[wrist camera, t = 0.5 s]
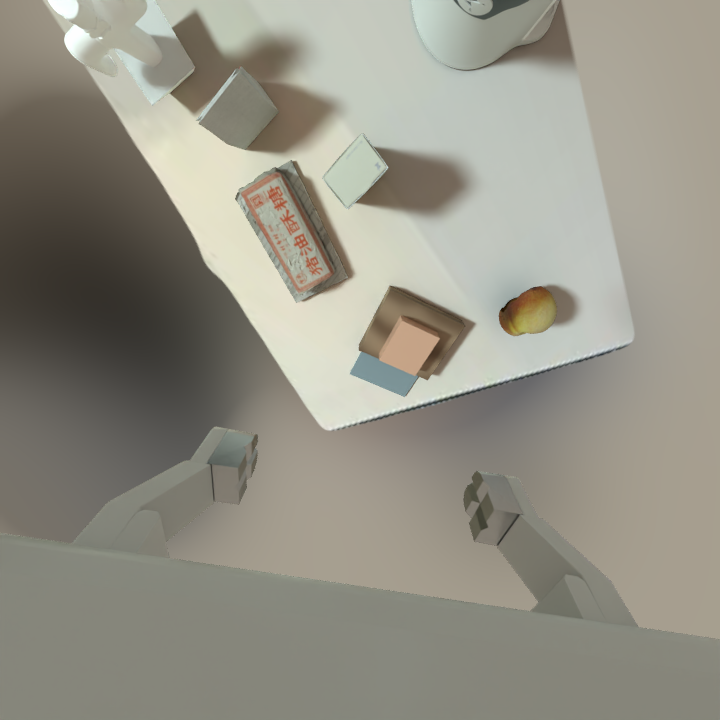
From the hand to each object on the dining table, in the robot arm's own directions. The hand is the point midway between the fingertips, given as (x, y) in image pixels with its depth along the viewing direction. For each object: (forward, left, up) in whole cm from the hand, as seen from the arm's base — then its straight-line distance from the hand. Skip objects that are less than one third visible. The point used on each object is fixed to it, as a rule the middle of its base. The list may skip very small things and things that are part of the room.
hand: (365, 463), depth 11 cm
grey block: (-9, -23, -42) cm, 49 cm away
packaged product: (+3, -12, -43) cm, 45 cm away
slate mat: (+18, +11, -42) cm, 47 cm away
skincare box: (-9, -7, -42) cm, 44 cm away
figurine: (-10, -34, -42) cm, 55 cm away
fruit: (-3, +25, -42) cm, 49 cm away
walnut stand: (+9, +11, -42) cm, 45 cm away
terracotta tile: (+10, +11, -40) cm, 43 cm away
